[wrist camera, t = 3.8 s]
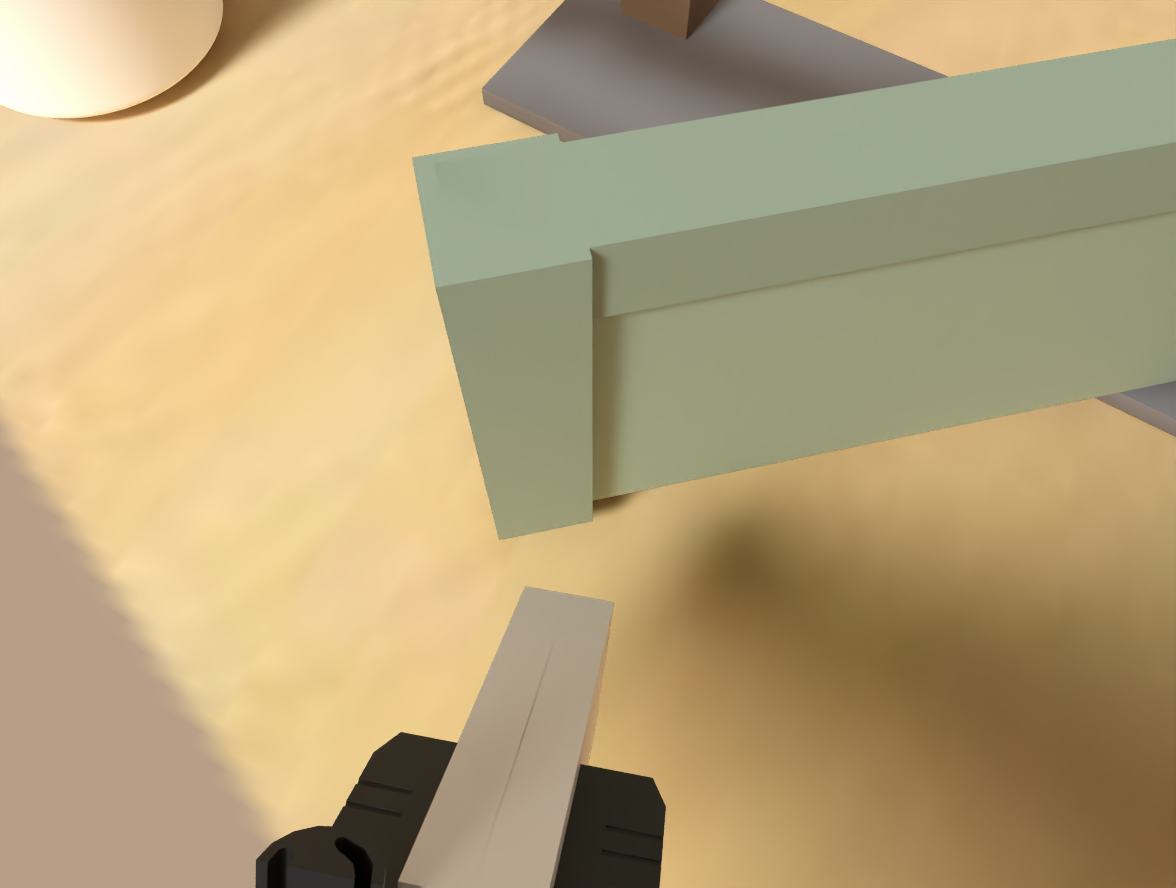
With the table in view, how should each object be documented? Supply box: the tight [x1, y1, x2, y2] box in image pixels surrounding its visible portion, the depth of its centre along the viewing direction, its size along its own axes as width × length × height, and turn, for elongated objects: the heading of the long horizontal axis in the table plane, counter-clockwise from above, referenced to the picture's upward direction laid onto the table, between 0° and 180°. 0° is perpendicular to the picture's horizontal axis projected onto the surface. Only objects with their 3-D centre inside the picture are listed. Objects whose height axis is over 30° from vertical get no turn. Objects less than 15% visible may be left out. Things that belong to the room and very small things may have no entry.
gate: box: [412, 39, 1176, 540], centre depth 19 cm, size 2×22×10 cm, turn 102°
